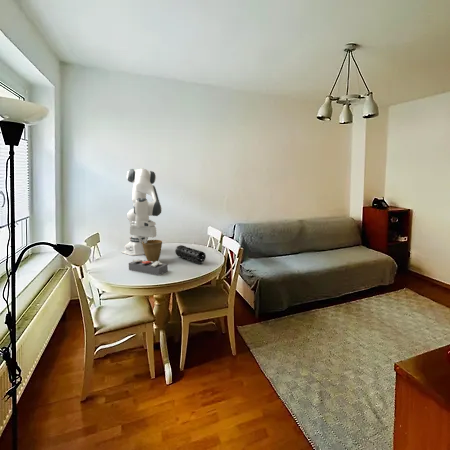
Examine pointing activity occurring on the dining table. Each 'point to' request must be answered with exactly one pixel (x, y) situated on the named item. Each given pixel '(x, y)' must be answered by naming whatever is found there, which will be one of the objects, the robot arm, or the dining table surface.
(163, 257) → the dining table surface
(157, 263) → the right rocker
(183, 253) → the muzzle brake
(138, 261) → the left rocker
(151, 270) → the switch strip
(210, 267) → the dining table surface
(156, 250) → the plant pot
